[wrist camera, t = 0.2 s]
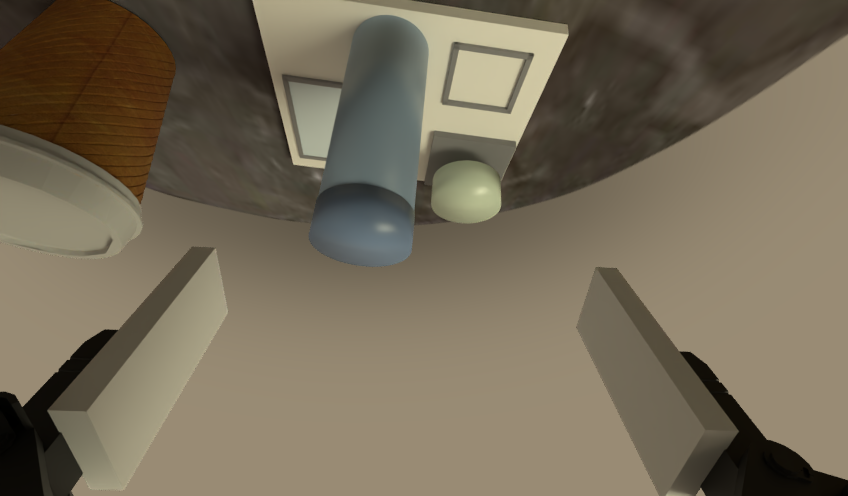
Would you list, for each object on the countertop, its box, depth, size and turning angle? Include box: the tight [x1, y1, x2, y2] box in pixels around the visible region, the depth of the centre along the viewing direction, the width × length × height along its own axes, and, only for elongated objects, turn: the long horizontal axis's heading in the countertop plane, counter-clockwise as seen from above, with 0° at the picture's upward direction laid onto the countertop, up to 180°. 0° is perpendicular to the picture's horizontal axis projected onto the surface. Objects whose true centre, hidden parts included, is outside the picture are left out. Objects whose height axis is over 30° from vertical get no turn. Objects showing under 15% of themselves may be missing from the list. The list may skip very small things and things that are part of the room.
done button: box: [431, 160, 501, 223], centre depth 30 cm, size 5×5×2 cm
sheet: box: [252, 0, 569, 186], centre depth 28 cm, size 14×16×1 cm
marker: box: [309, 15, 429, 267], centre depth 21 cm, size 4×4×12 cm
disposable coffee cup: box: [0, 0, 176, 259], centre depth 23 cm, size 10×10×12 cm
